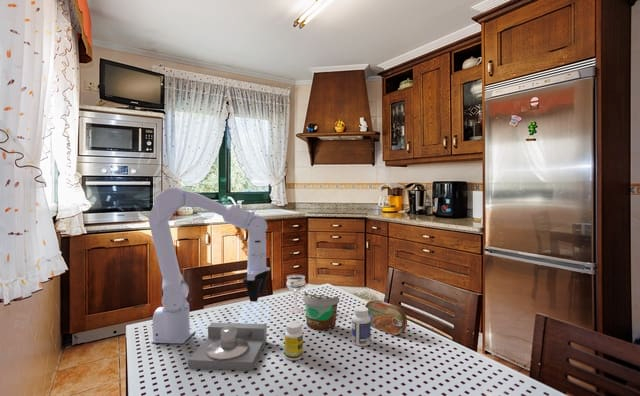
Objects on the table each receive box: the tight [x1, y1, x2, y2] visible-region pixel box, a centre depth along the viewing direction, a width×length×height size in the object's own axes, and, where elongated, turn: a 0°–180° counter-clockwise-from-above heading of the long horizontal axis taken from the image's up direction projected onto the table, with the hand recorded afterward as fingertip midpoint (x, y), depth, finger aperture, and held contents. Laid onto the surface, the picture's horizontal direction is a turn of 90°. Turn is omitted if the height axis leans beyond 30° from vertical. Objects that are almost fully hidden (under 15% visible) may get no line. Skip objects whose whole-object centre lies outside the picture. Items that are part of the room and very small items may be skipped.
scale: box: [187, 322, 268, 371], centre depth 87 cm, size 16×15×5 cm
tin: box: [364, 299, 408, 336], centre depth 102 cm, size 15×3×8 cm, turn 41°
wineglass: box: [286, 274, 306, 314], centre depth 118 cm, size 7×7×12 cm
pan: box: [207, 338, 248, 360], centre depth 85 cm, size 10×10×1 cm
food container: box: [302, 291, 340, 331], centre depth 103 cm, size 12×6×10 cm, turn 68°
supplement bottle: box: [284, 321, 304, 361], centre depth 86 cm, size 5×5×8 cm
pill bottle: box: [351, 306, 372, 347], centre depth 94 cm, size 5×5×10 cm
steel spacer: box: [221, 326, 237, 351], centre depth 85 cm, size 4×4×4 cm
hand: (257, 296), depth 103 cm, fingers open, 7 cm apart
